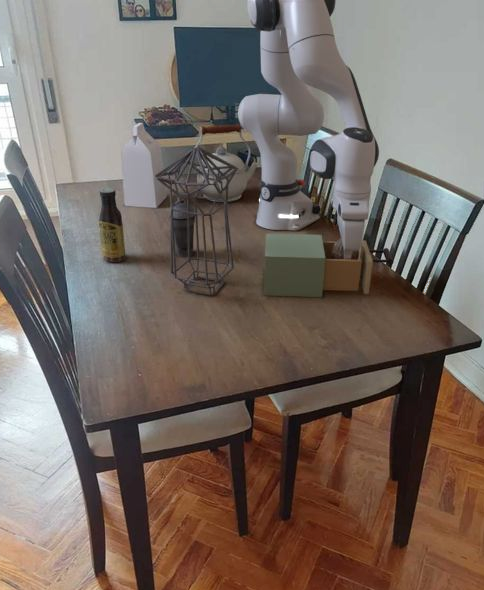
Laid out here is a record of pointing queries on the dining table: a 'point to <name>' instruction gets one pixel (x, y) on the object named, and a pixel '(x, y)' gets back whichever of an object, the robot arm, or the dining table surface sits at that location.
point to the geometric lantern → (177, 166)
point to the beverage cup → (183, 228)
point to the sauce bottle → (111, 227)
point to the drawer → (350, 268)
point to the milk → (142, 170)
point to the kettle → (239, 178)
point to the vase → (342, 251)
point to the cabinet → (294, 265)
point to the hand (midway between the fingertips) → (345, 253)
